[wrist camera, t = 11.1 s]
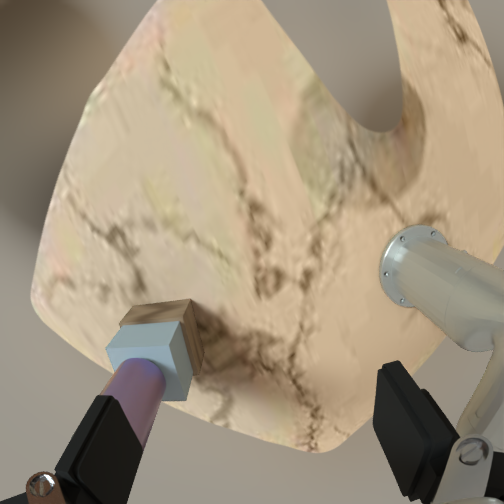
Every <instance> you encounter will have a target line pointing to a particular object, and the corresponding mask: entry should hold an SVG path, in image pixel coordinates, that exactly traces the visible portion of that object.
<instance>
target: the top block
mask: <svg viewBox="0 0 504 504" xmlns="http://www.w3.org/2000/svg"><path fill="white" fill-rule="evenodd" d="M106 351H107V354H108V356H109V359H110V362H111V364H112V367H113V369H114V372H115V371H116V370H117V368H118V367H119V365H120V364H121V363H122V362H123V361H125V360H127V359H130V358H143V359H146V360H148V361H150V362H152V363H154V364H155V365H156V366H157V367H158V368H159V369H160V370H161V372H162V373H163V375H164V377H165V380H166V389H165V392H164V395H163V398H162V401H186V400H187V396H188V392H189V388H190V384H191V380H192V376H193V370H192V366H191V363H190V359H189V355H188V352H187V348H186V344H185V341H184V337H183V333H182V329H181V325H180V321H174V322H162V323H150V324H137V325H123V326H122V327H121V328H120V330H119V331H118V332H117V334H116V335H115V336H114V338H113V339H112V340H111V342H110V343H109V344H108V346H107V347H106Z"/></svg>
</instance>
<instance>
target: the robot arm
mask: <svg viewBox="0 0 504 504" xmlns="http://www.w3.org/2000/svg"><path fill="white" fill-rule="evenodd" d="M400 237H401V239H400ZM384 273H385V274H384ZM379 276H380V283H381V285H382V288H383V290H384V292H385V294H386V295H387V296H388V297H389V298H390V299H391V300H392V301H393V302H395V303H396V304H398V305H400V306H404V307H416V308H417V309H418V310H420V311H421V312H422V313H423V314H424V315H425V316H426V317H427V318H429V319H430V320H431V321H432V322H433V323H434V324H435V325H436V326H438V327H439V328H440V329H441V330H442V331H443V332H444V333H445V334H446V335H447V336H449V337H450V338H451V339H452V340H453V341H454V342H455V343H456V344H457V345H459V346H460V347H461V348H463V349H465V350H468V351H472V352H483V351H488V350H492V349H494V350H493V354H492V357H491V359H490V361H489V363H488V366H487V368H486V371H485V373H484V375H483V377H482V379H481V381H480V383H479V384H478V386H477V388H476V390H475V392H474V394H473V395H472V397H471V399H470V401H469V402H468V404H467V406H466V408H465V409H464V411H463V413H462V415H461V416H460V418H459V421H458V423H457V426H456V430H455V429H454V427H453V426H452V424H451V423H450V421H449V420H448V419H447V417H446V416H445V414H444V413H443V412H442V410H441V409H440V408H439V406H438V405H437V403H436V402H435V401H434V399H433V398H432V396H431V395H430V394H429V392H428V391H427V390H425V389H421V390H420V388H419V387H418V385H417V384H416V383H415V381H414V380H413V378H412V377H411V376H410V374H409V373H408V372H407V370H406V369H405V368H404V366H403V365H402V363H401V362H400V361H398V360H397V361H393V362H390V363H386V364H383V366H382V369H379V370H378V374H377V386H376V396H375V406H374V415H373V427H374V431H375V433H376V435H377V437H378V440H379V442H380V444H381V446H382V449H383V451H384V453H385V455H386V457H387V460H388V462H389V465H390V467H391V469H392V472H393V474H394V476H395V479H396V481H397V483H398V486H399V488H400V491H401V493H402V495H403V496H404V497H405V496H408V497H409V500H410V501H411V502H412V501H414V500H417V499H420V500H421V502H422V503H423V504H504V270H502V269H500V268H498V267H496V266H494V265H492V264H489V263H487V262H485V261H483V260H481V259H478V258H476V257H474V256H472V255H469V254H468V253H467V251H466V250H462V251H460V250H458V249H456V248H453V247H451V246H449V245H448V244H447V242H446V239H445V238H444V237H443V235H442V234H441V233H440V232H439V231H438V230H436V229H434V228H432V227H430V226H427V225H420V224H418V225H411V226H409V227H406V228H404V229H403V230H401V231H399V232H398V233H397V234H396V235H395V236H394V237H393V238H392V239H391V240H390V242H389V243H388V244H387V246H386V248H385V250H384V252H383V255H382V258H381V262H380V267H379ZM142 454H143V448H142V445H141V443H140V441H139V440H138V438H137V436H136V434H135V432H134V430H133V429H132V427H131V425H130V423H129V421H128V419H127V417H126V415H125V413H124V411H123V409H122V407H121V405H120V403H119V401H118V400H117V399H115V398H114V397H113V396H111V395H98V396H96V398H95V399H94V401H93V403H92V405H91V406H90V408H89V409H88V411H87V413H86V414H85V416H84V418H83V420H82V421H81V423H80V425H79V426H78V428H77V430H76V432H75V433H74V435H73V437H72V439H71V440H70V442H69V444H68V446H67V447H66V449H65V451H64V453H63V455H62V456H61V458H60V460H59V462H58V463H57V465H56V467H55V471H56V473H55V475H53V474H52V473H50V472H44V471H43V472H38V473H36V474H34V475H33V476H31V477H30V478H29V480H28V481H27V484H26V492H25V493H22V494H19V495H17V496H14V497H11V498H9V499H6V500H3V501H0V504H127V501H128V498H129V494H130V491H131V488H132V485H133V482H134V479H135V476H136V473H137V469H138V466H139V463H140V460H141V457H142Z"/></svg>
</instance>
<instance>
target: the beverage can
mask: <svg viewBox="0 0 504 504" xmlns="http://www.w3.org/2000/svg"><path fill="white" fill-rule="evenodd" d="M165 389H166V380H165V377H164V375H163V373H162V372H161V370H160V369H159V368H158V367H157V366H156V365H155V364H154V363H152V362H150V361H148V360H146V359H143V358H130V359H127V360H125V361H123V362H122V363H121V364H120V365H119V367H118V368H117V370H116V371H115V373H114V374H113V375H112V377H111V378H110V380H109V381H108V383H107V384H106V386H105V387H104V389H103V390H102V392H101V393H100V395H111V396H113V397H114V398H115V399H117V400H118V401H119V403H120V405H121V407H122V409H123V411H124V413H125V415H126V417H127V419H128V421H129V423H130V425H131V427H132V429H133V430H134V432H135V434H136V436H137V438H138V440H139V441H140V443H141V445H142V448H143V451H144V448H145V446H146V443H147V440H148V437H149V434H150V431H151V428H152V426H153V423H154V420H155V417H156V414H157V411H158V409H159V406H160V403H161V401H162V398H163V395H164V392H165ZM76 430H77V429H76ZM75 432H76V431H75ZM75 432H74V433H75ZM73 435H74V434H73ZM73 435H72V437H73ZM72 437H71V439H72Z"/></svg>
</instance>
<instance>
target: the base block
mask: <svg viewBox="0 0 504 504" xmlns="http://www.w3.org/2000/svg"><path fill="white" fill-rule="evenodd" d="M174 321H180V325H181V329H182V333H183V337H184V341H185V344H186V348H187V352H188V355H189V359H190V363H191V366H192V370H193V376H194V375H199V373H200V369H201V365H202V360H203V356H204V350H203V346H202V342H201V338H200V335H199V331H198V327H197V323H196V319H195V315H194V311H193V307H192V303H191V299H185V300H177V301H169V302H161V303H153V304H145V305H136V306H133V307H132V308H131V309H130V310H129V312H128V313H127V314H126V315H125V316H124V318H123V319H122V320H121V321H120V323H119V325H120V328H121V327H122V326H123V325H137V324H150V323H162V322H174Z"/></svg>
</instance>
